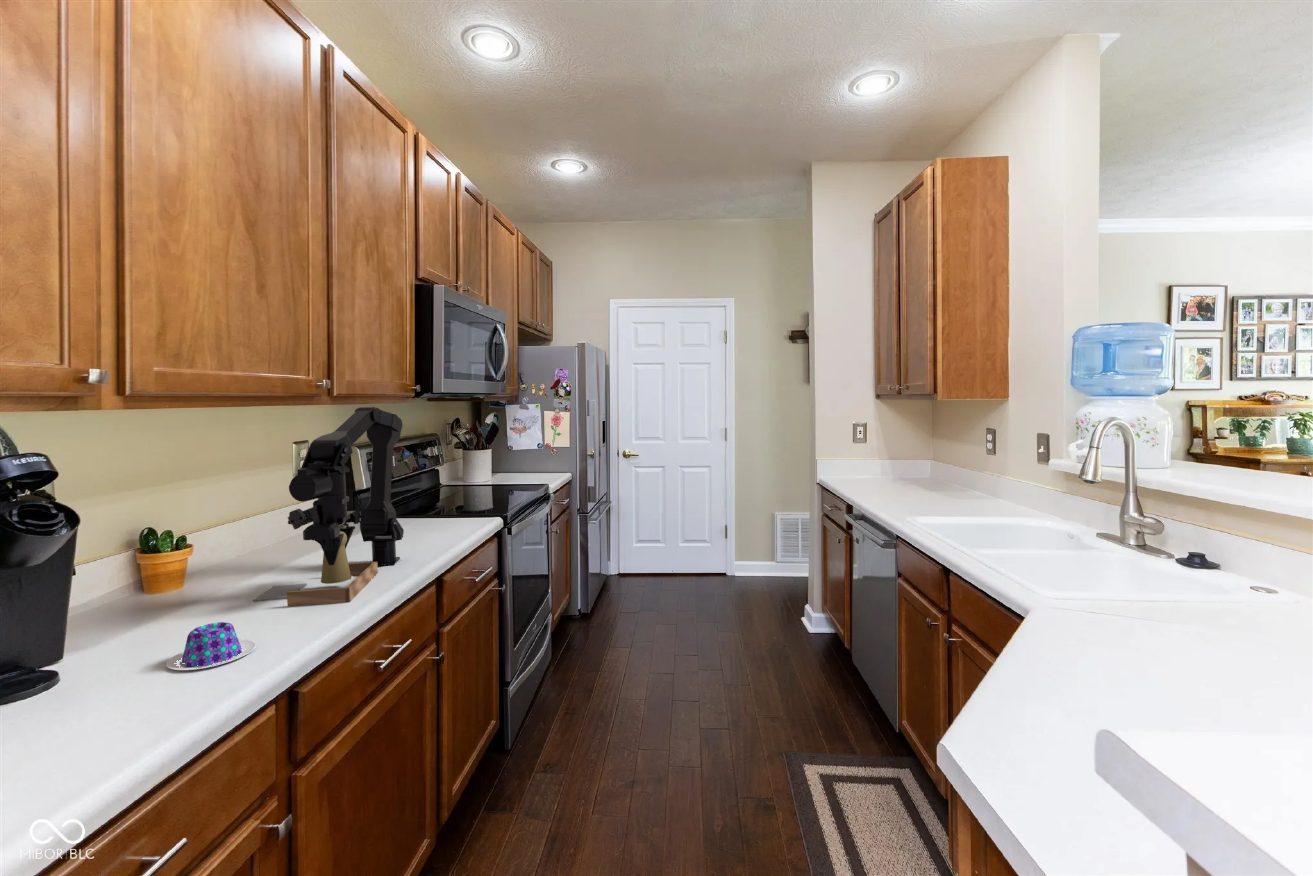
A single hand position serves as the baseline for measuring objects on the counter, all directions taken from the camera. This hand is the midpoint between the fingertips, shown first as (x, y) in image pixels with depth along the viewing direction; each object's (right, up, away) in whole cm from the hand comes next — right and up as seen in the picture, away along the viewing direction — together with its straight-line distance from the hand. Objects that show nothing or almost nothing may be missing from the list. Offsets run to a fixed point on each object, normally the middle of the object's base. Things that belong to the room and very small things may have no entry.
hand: (335, 562), depth 134 cm
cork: (0, -4, 0) cm, 4 cm away
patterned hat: (-1, -9, -35) cm, 37 cm away
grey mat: (-11, -6, -2) cm, 13 cm away
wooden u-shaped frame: (0, -6, 0) cm, 6 cm away
